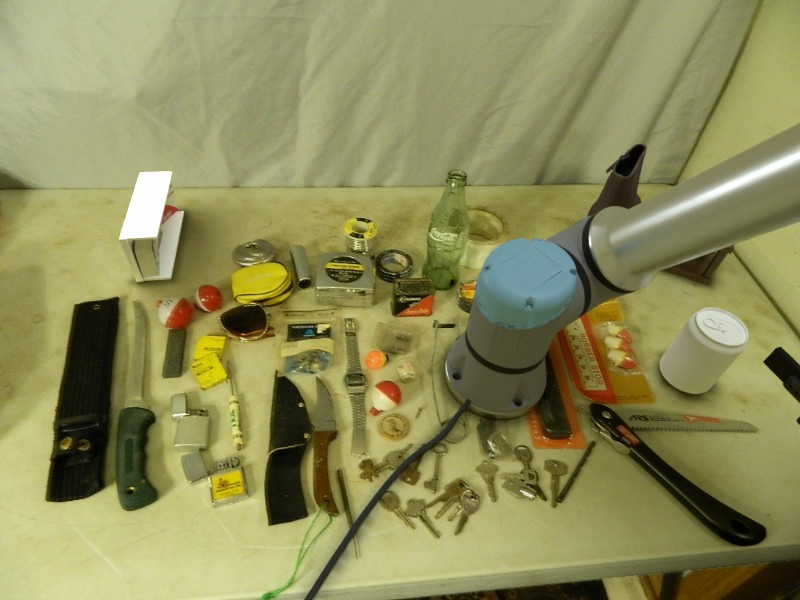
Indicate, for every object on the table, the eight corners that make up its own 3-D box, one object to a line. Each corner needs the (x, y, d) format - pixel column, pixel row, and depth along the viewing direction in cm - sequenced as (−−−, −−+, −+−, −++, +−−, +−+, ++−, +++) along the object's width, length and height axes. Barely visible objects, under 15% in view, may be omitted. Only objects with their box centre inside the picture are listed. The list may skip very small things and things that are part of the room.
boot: (649, 215, 113) (693, 129, 99) (606, 274, 99) (650, 184, 85) (610, 199, 116) (647, 113, 102) (564, 253, 103) (599, 163, 88)
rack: (708, 285, 99) (734, 249, 93) (638, 261, 103) (658, 225, 96) (712, 248, 107) (736, 212, 100) (647, 227, 110) (665, 192, 104)
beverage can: (707, 404, 80) (750, 357, 72) (653, 382, 83) (689, 333, 74) (712, 367, 86) (753, 318, 77) (661, 347, 88) (696, 297, 79)
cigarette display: (170, 280, 91) (156, 237, 84) (136, 281, 90) (118, 239, 83) (184, 208, 104) (173, 167, 97) (154, 210, 103) (141, 168, 96)
